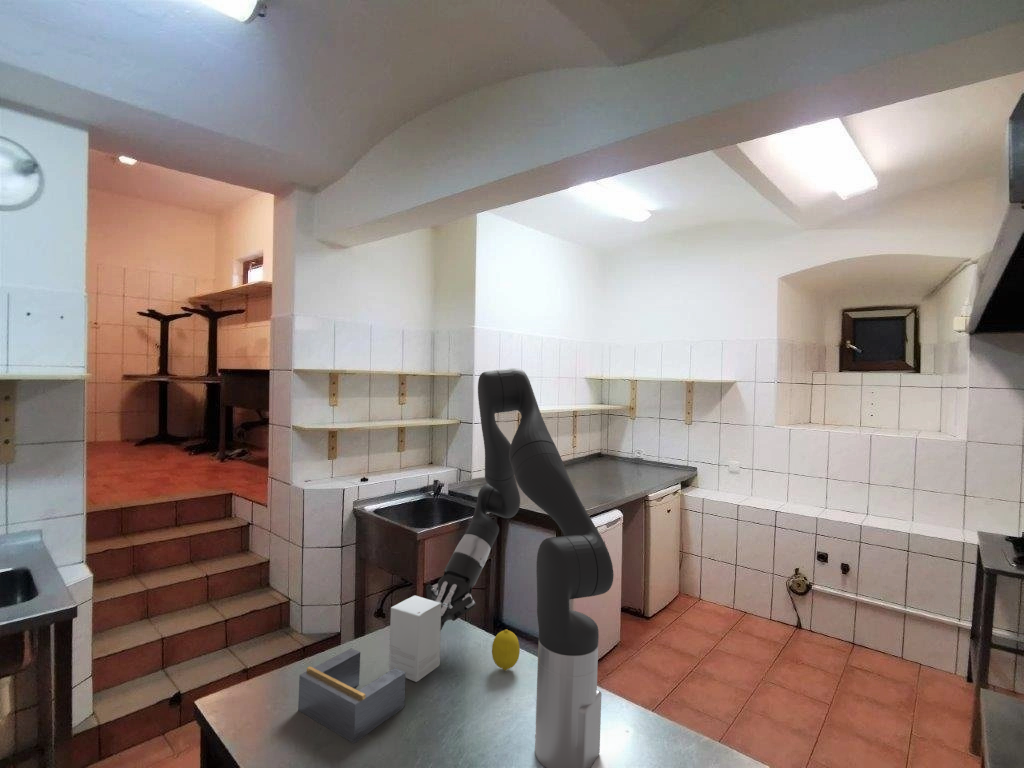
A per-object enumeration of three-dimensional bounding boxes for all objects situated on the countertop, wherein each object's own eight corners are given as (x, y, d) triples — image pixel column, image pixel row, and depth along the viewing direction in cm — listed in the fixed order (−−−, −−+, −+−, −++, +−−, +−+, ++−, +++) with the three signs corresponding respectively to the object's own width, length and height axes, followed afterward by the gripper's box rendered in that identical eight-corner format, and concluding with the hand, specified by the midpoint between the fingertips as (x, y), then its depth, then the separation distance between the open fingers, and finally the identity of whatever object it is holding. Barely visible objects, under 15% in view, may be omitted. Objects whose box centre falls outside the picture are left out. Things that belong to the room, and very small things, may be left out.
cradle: (404, 707, 87) (405, 668, 87) (353, 743, 78) (355, 700, 78) (350, 680, 95) (351, 644, 95) (298, 710, 85) (299, 671, 85)
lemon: (519, 663, 102) (521, 624, 102) (517, 679, 97) (519, 637, 97) (493, 661, 103) (494, 622, 103) (489, 676, 97) (490, 635, 97)
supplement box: (440, 665, 101) (443, 602, 101) (415, 683, 94) (418, 616, 94) (412, 654, 104) (415, 593, 105) (387, 671, 98) (389, 606, 98)
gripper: (438, 545, 115) (398, 618, 104) (485, 557, 108) (447, 636, 97) (452, 562, 119) (414, 634, 109) (498, 574, 112) (463, 652, 102)
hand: (430, 635), depth 103 cm, fingers closed
